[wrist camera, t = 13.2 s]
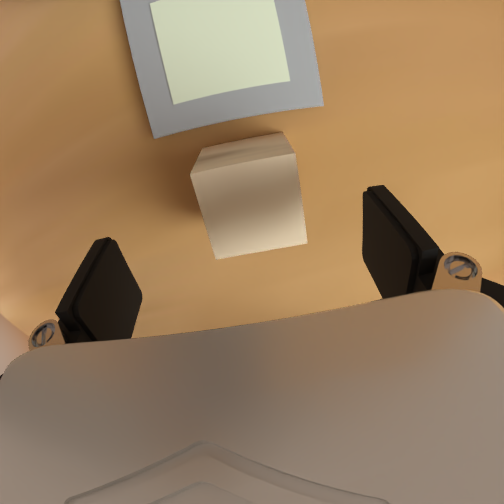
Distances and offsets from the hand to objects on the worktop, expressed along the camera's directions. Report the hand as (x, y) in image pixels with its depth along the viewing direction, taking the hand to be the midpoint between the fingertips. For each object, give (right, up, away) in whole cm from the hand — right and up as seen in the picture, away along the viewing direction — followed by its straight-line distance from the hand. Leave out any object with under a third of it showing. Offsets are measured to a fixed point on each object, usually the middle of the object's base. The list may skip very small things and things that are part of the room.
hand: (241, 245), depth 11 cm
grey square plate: (-1, +12, +3) cm, 12 cm away
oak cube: (0, +5, +8) cm, 9 cm away
